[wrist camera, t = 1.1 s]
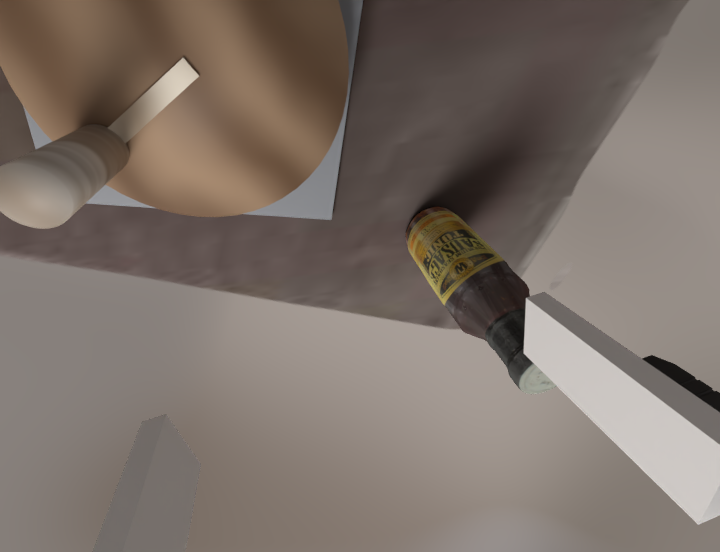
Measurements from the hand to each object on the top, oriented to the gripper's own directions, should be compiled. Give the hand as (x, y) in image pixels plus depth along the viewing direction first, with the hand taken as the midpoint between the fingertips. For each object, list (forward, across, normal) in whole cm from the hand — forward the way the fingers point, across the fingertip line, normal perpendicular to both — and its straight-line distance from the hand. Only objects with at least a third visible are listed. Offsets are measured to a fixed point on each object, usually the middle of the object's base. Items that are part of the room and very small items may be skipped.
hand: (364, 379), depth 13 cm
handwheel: (+21, -4, +12) cm, 25 cm away
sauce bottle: (+24, +12, -6) cm, 28 cm away
